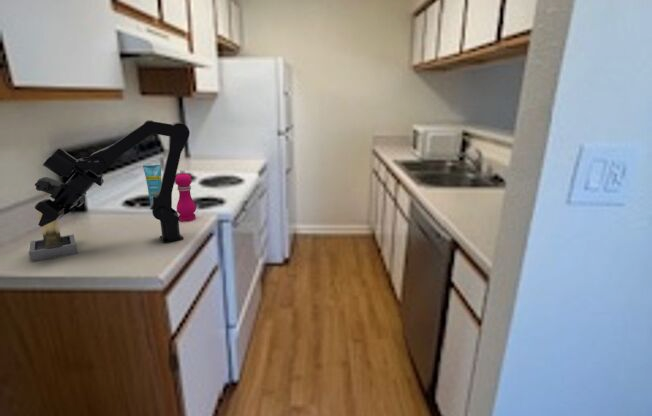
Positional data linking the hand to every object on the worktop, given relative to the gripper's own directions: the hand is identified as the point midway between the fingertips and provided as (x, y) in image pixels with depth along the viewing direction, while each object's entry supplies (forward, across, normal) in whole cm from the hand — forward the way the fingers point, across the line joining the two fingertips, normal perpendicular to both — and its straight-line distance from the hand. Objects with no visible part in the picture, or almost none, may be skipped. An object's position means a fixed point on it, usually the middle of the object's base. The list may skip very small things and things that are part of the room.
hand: (44, 223), depth 117 cm
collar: (+6, 0, +8) cm, 9 cm away
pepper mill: (-19, -29, +33) cm, 47 cm away
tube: (-7, -49, +21) cm, 54 cm away
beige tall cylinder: (+4, 0, +6) cm, 7 cm away
